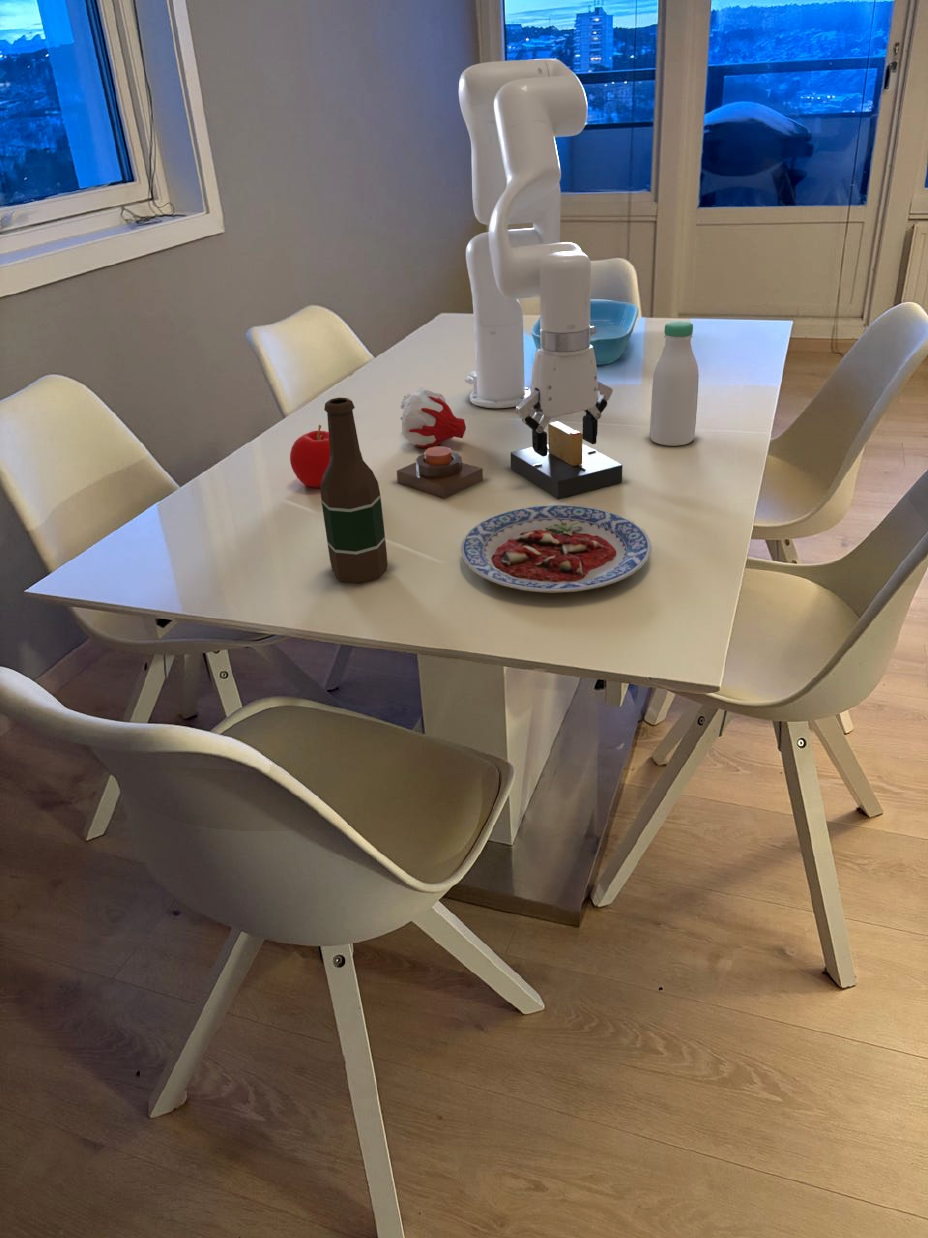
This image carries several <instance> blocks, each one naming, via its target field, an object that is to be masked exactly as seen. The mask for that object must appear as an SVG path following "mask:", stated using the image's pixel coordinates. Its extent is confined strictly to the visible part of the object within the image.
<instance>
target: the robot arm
mask: <svg viewBox="0 0 928 1238" xmlns="http://www.w3.org/2000/svg"><path fill="white" fill-rule="evenodd" d="M458 81H459V82H458V100H459V106H460V110H461V115H462V117H463V120H464V124H465V126H466V130H467V132H468V135H469V140H470V148H471V149H470V150H471V151H470V153H471V192H472V193H471V194H472V195H471V196H472V209H473V214H474V216H475V219H476V220H477V221H478V222H479V224H482V225H486V226H488V231H486V232H482V233H479V234H477V235H475V236H474V237H472V238H471V239H470V240H469V241H468V243H467V245H466V247H465V263H466V268H467V274H468V278H469V284H470V291H471V299H472V300H471V301H472V312H473V330H474V351H475V367H476V368H475V370H476V371H473V370H472V371H470V372H468V374H467V376H466V377H465V378H464V383H465V384H467V385H472V386H473V388H472V389H473V390H472V391H471V392H470V393H469V401H470V403H472V404H473V405H475V406H478V407H481V408H487V409H507V408H513V407H515V411H516V412H517V414H518V415H519V417H520V418H521V421H522V422H523V423H524V424H525V425H526V426H527V427H528V428H529V429H531V447H533V449H534V452H536V453H538V454H539V455H541V456H543V457H544V456H546V455H547V443H548V432H547V431H545V429H546V428H547V426H548V423H550V420H551V419H553V418H559V417H563V416H567V415H571V414H576V413H581V412H584V413H585V415H583V416H582V428H581V429H582V431H581V434H583V441H585V442H587V443H589V444H591V445H596V444H597V443H598V442H597V439H598V437H597V436H598V427H599V426H598V425H599V423H598V422H599V420H600V419H601V418H602V413H603V412H604V411H605V409H606V408H607V406H608V401H610V398H611V396H612V393H613V388H612V387H610V386H608V385H606V384H604V383H602V382H600V381H598V369H597V365H596V359H595V354H594V349H593V346H592V345H590V342H591V336H593V335H595V334H596V328H595V327H594V326H593V327H591V325H590V302H591V299H592V297H591V292H592V291H591V290H592V289H591V288H592V263H591V260H590V257H589V256H588V255H587V254H585V253H584V252H583V251H582V249H581V247H580V246H579V245H578V244H576V243H573V242H560V241H561V215H562V214H561V213H562V212H561V211H562V193H561V186H560V185H561V184H560V182H561V178H562V171H561V164H560V159H559V155H558V149H557V144H556V138H563V137H566V138H567V137H574V136H577V135H579V134H580V133H582V131H583V130H584V128H585V127H586V124H587V120H588V99H587V96H586V95H587V94H586V92H585V89H584V87H583V84H582V82H581V81H580V79H579V77H578V76H577V75H576V73H574V71H573V70H571V69H570V68H569V67H568V66H567V65H566V64H565V63H563V61H561V60H560V59H556V58H535V59H519V60H518V59H517V60H514V59H513V60H499V61H497V60H495V61H486V62H480V63H476V64H472V65H470V66H468V67H466V68H465V69H464V71H462V73H461V74H460V76H459V80H458ZM527 223H528V224H529V223H531V224H532V227H530V228H529V227H528V228H518V229H517V228H516V229H509V225H516V224H518V225H519V224H527ZM531 298H539V317H540V344H541V346H540V347H541V349H538V350H537V349H535V352H534V357H533V361H532V367H531V375H530V388H529V387H528V386H525V353H524V352H525V349H524V344H525V343H524V311H523V306H522V305H521V302H520V301H519V300H521V299H522V300H523V299H531ZM530 410H531V411H533V412H534V414H533V415H531V414H530V413H531V412H530Z"/></svg>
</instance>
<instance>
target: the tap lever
mask: <svg viewBox="0 0 928 1238" xmlns="http://www.w3.org/2000/svg"><path fill="white" fill-rule="evenodd" d="M547 427H548V428H547V431H548V432H547V443H548V446H549V453H551V454H553V455H554V456H556V457H558V458H560V459H561V460H563V461H565V462H566V463H568V464H570V465H572V466H576V465H580V464H582V443H583V441H584V440H583V434H582V431H580V430H576V429H573V428H571V427H569V426H567V424H564V423H562V422H560V421H553V422H552V421H551V422H548V424H547Z"/></svg>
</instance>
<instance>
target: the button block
mask: <svg viewBox="0 0 928 1238" xmlns="http://www.w3.org/2000/svg"><path fill="white" fill-rule="evenodd" d="M483 469H484V468H482V467H479V466H477V465H473V464H469V463H466V462H463V457H462V456H461V455H460V454H459V453H458V452H455V451H452V461H451V462H449V463H447V464H442V465H430V464H427V463H425V453H423V454H420V455H418V457H416V459H415V462H413V463H411V464H409V465H406V466H404V467H402V468H399V469H397V470H396V479H397V480H396V481H397V483H398V484H401V485H403V486H406V487H409V488H413V489H416V490H418V491H422V492H424V493H427V494H430V495H433V496H437V497H439V498H442V499H447V498H449V497H451V496H454V495H456V494H458V493H460V492H462V491H464V490H466V489H469V488H470V487H473V486H475V485H477V484H479V483H481V482H483V481H484V471H483Z"/></svg>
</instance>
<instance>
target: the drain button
mask: <svg viewBox="0 0 928 1238" xmlns="http://www.w3.org/2000/svg"><path fill="white" fill-rule="evenodd" d="M452 452H453V450H452V449H451V448H450V447H448V446H440V445H439V446H438V445H436V446H434V447H429V448H426V449H425V450H424V453H423V454H425V463H427V464H430V465H442V464H447V463H449V462H451V461H452Z"/></svg>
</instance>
